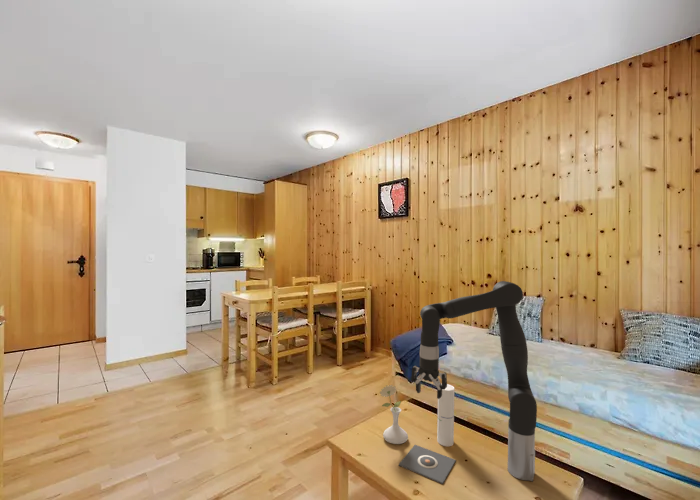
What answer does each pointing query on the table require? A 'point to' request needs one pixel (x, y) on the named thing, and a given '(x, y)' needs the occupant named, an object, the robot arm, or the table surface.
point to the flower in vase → (395, 431)
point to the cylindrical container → (446, 417)
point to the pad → (428, 463)
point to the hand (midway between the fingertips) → (428, 395)
